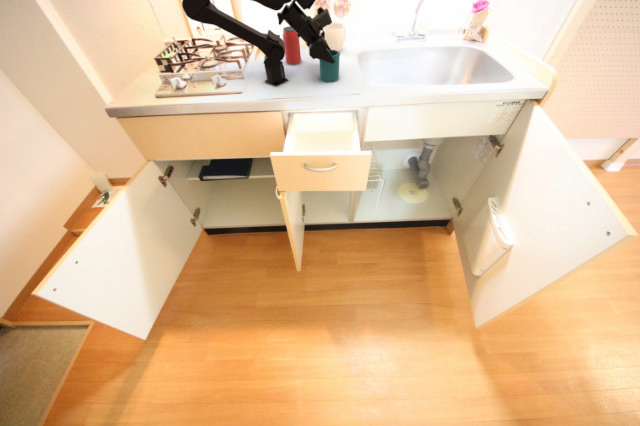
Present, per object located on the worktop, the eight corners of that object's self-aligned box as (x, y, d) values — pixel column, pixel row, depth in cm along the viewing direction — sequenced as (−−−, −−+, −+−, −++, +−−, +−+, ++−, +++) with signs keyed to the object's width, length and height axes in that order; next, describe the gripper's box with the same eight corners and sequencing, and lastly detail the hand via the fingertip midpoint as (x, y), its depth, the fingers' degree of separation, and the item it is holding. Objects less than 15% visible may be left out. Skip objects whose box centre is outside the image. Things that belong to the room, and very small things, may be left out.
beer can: (284, 60, 105) (279, 27, 96) (298, 58, 106) (295, 25, 97) (288, 66, 101) (284, 31, 92) (303, 63, 102) (300, 29, 93)
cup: (349, 54, 108) (350, 27, 100) (323, 58, 105) (323, 32, 98) (337, 46, 115) (338, 20, 108) (314, 50, 112) (312, 24, 105)
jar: (330, 83, 89) (331, 58, 82) (316, 79, 92) (315, 54, 85) (342, 77, 92) (343, 52, 86) (327, 73, 95) (327, 48, 89)
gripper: (318, 5, 68) (353, 48, 77) (315, -7, 80) (346, 31, 89) (294, 40, 74) (329, 76, 83) (294, 23, 86) (325, 56, 95)
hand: (333, 58), depth 87 cm, fingers closed on jar, 7 cm apart
